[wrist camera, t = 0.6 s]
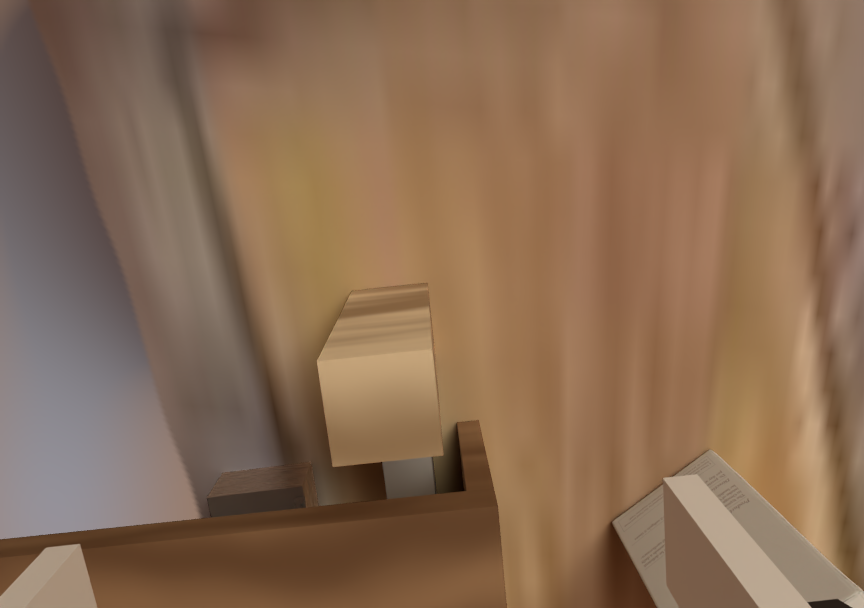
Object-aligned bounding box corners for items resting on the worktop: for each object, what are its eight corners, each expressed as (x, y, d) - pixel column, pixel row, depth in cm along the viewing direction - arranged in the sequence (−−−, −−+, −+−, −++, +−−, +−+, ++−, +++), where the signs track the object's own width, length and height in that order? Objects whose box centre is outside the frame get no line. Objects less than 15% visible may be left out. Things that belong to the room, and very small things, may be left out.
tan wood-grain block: (352, 290, 34) (316, 361, 22) (427, 282, 34) (431, 349, 22) (390, 573, 38) (377, 760, 26) (457, 566, 38) (475, 750, 26)
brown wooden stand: (84, 461, 36) (-25, 560, 27) (478, 420, 36) (497, 506, 27) (136, 673, 39) (54, 823, 30) (498, 636, 39) (522, 776, 30)
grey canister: (679, 604, 39) (801, 813, 26) (607, 519, 37) (700, 698, 25) (783, 533, 38) (960, 716, 25) (713, 443, 36) (863, 589, 24)
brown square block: (223, 470, 36) (206, 498, 33) (311, 459, 36) (302, 486, 33) (240, 549, 38) (225, 582, 35) (325, 538, 37) (318, 570, 35)
